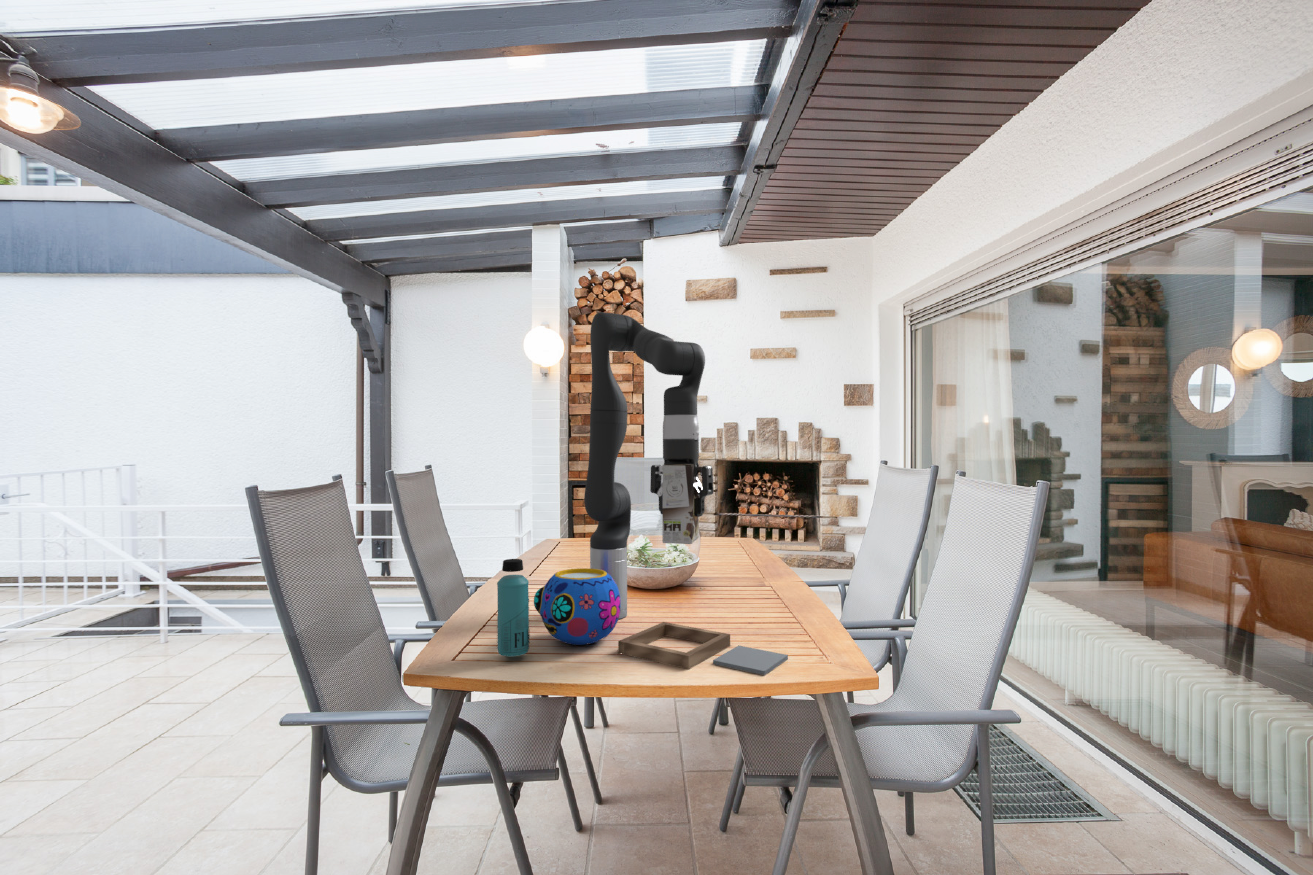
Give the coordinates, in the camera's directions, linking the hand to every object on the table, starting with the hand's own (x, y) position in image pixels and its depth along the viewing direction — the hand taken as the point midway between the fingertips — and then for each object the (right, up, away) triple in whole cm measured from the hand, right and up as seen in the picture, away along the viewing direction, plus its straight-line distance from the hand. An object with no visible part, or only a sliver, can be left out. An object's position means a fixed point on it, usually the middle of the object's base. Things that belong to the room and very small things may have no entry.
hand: (681, 515), depth 136 cm
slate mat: (+13, -28, -7) cm, 32 cm away
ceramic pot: (-22, -29, +6) cm, 36 cm away
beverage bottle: (-34, -29, -5) cm, 45 cm away
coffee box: (0, -6, 0) cm, 6 cm away
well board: (-1, -28, +1) cm, 28 cm away
